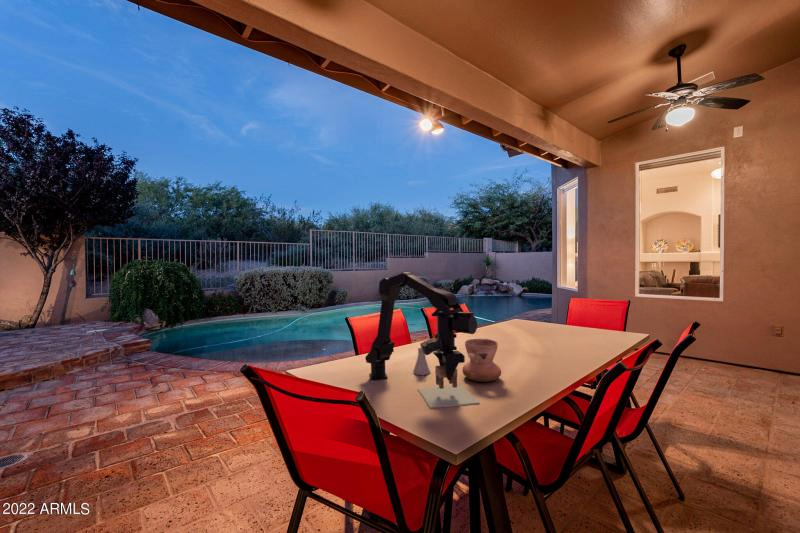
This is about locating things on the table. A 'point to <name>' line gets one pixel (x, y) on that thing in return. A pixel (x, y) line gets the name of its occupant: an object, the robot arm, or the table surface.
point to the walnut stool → (441, 375)
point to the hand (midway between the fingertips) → (446, 377)
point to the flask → (421, 364)
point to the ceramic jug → (481, 360)
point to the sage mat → (447, 396)
